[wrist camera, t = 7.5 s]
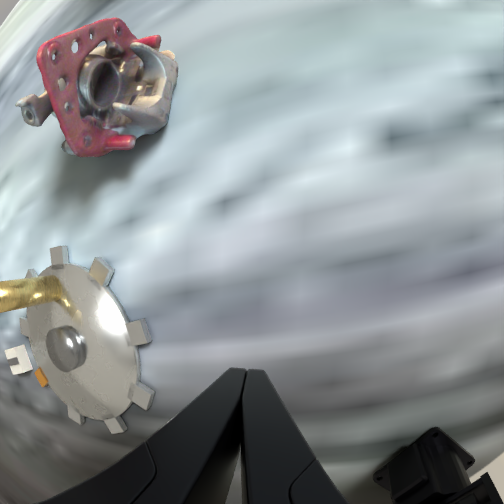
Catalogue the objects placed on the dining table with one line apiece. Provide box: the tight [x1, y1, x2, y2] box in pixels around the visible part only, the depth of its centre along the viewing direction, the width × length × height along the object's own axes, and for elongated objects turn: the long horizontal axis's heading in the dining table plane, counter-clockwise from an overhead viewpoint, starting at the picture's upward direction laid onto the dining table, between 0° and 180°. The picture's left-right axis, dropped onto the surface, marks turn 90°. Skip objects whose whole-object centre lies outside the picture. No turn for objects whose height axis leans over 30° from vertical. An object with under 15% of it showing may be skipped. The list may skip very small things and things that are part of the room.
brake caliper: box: [15, 18, 178, 157], centre depth 20 cm, size 11×11×12 cm
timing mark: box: [5, 345, 33, 374], centre depth 28 cm, size 3×3×2 cm
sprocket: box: [0, 246, 155, 434], centre depth 21 cm, size 18×18×9 cm
